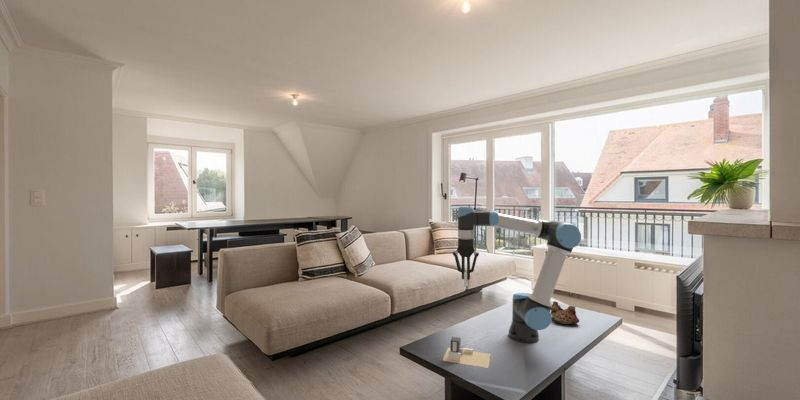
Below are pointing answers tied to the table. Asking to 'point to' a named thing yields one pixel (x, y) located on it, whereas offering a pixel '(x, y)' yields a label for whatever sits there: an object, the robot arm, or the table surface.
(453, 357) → the board
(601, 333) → the table surface
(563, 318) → the coral
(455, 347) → the plug
